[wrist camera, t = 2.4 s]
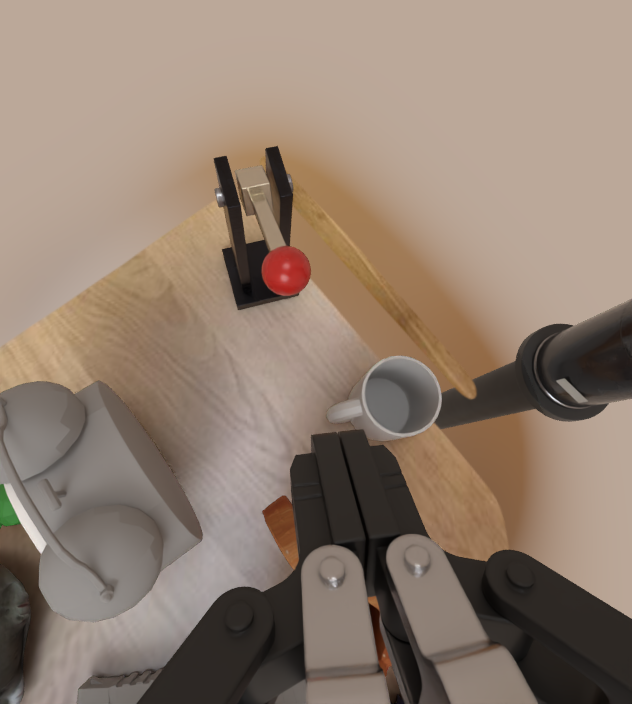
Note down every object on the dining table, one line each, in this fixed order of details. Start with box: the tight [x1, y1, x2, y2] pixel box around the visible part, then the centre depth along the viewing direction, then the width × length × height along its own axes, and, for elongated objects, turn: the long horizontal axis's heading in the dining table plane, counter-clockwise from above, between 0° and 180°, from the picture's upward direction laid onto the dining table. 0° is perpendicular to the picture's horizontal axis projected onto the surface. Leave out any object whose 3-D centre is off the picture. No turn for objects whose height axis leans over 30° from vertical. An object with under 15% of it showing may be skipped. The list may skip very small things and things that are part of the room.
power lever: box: [235, 165, 311, 296], centre depth 32 cm, size 13×3×3 cm, turn 16°
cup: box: [326, 356, 442, 441], centre depth 43 cm, size 7×10×9 cm
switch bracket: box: [214, 146, 299, 310], centre depth 42 cm, size 7×7×18 cm
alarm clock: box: [0, 381, 202, 622], centre depth 33 cm, size 16×9×22 cm, turn 35°
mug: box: [262, 496, 392, 677], centre depth 36 cm, size 15×8×15 cm, turn 35°
